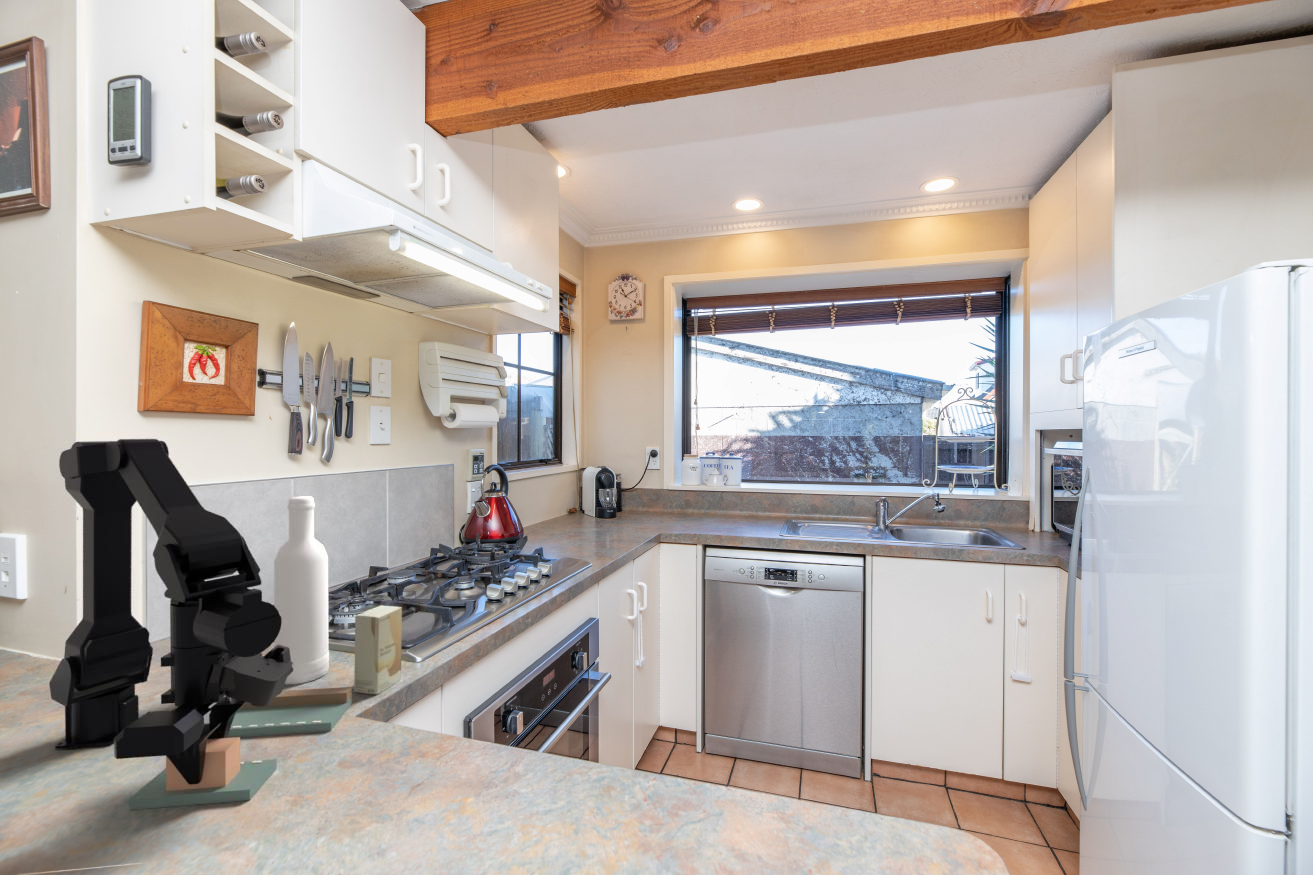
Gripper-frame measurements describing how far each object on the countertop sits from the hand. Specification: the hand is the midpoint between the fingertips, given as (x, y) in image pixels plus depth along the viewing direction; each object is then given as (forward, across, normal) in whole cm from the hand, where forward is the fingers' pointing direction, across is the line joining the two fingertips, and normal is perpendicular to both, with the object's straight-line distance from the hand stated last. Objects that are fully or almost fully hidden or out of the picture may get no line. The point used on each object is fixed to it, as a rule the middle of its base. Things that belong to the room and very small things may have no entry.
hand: (204, 774), depth 67 cm
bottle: (+2, +32, +3) cm, 32 cm away
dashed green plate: (+2, +16, 0) cm, 16 cm away
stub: (+2, 0, 0) cm, 2 cm away
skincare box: (+2, +26, -11) cm, 29 cm away
